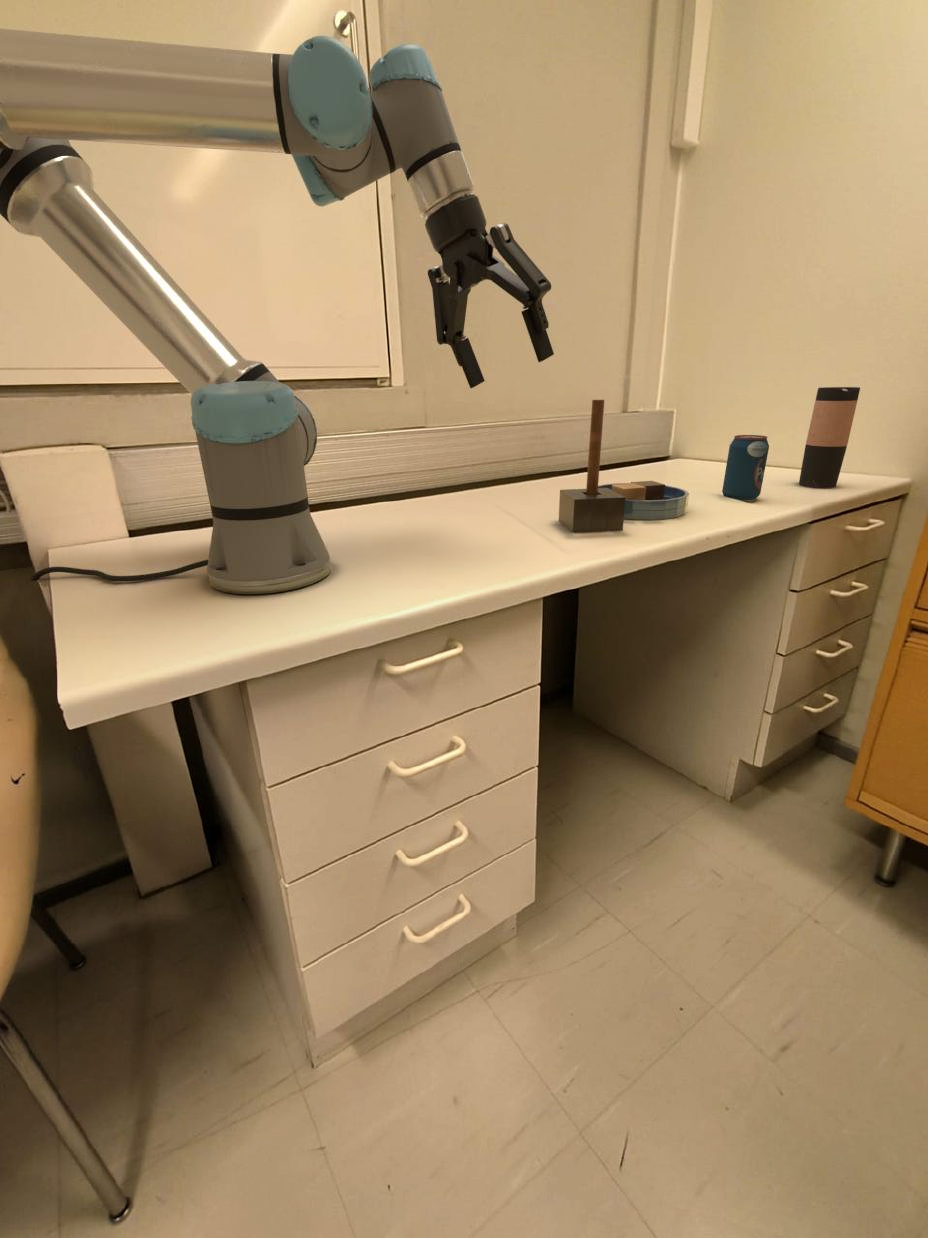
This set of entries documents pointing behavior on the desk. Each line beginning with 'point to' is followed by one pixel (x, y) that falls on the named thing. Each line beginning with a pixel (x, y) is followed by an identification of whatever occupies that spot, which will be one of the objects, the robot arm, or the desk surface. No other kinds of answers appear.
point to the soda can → (745, 467)
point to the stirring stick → (595, 447)
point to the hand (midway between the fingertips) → (510, 372)
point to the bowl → (656, 505)
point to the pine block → (630, 491)
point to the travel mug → (828, 436)
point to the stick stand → (591, 510)
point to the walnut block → (652, 490)
